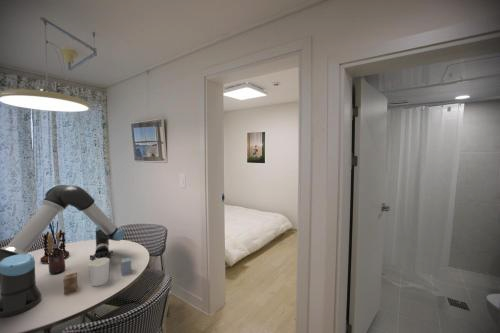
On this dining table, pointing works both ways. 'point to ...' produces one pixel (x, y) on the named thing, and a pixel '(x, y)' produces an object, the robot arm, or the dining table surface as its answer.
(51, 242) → the brown dark-edged pieces
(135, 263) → the dining table surface
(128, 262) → the slate-blue block
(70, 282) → the walnut block
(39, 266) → the dining table surface
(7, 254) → the robot arm
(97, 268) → the candle holder
